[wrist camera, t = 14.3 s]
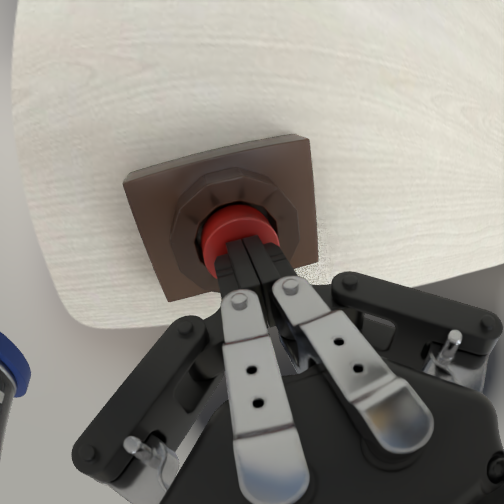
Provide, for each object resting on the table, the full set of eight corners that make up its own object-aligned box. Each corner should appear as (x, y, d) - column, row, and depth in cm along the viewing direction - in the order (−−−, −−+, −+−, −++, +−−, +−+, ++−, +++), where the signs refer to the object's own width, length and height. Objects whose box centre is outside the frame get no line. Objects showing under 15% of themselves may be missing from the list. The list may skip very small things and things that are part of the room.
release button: (210, 274, 16) (214, 293, 14) (192, 214, 14) (194, 229, 12) (274, 257, 16) (283, 274, 14) (264, 196, 14) (275, 209, 13)
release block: (168, 282, 19) (168, 322, 16) (129, 172, 15) (114, 194, 12) (306, 246, 20) (330, 277, 17) (294, 133, 16) (324, 144, 13)
